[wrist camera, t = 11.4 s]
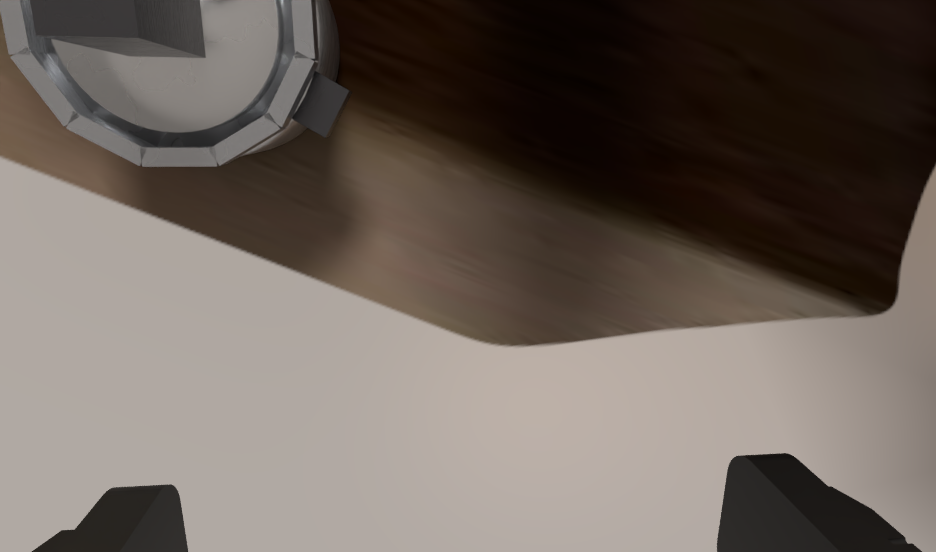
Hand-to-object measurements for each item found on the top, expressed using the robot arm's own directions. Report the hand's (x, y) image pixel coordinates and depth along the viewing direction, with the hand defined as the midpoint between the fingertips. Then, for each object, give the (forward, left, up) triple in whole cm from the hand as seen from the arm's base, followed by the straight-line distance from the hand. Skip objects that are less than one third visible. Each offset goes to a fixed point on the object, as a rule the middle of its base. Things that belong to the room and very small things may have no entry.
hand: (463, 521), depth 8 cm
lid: (-3, -14, -20) cm, 25 cm away
